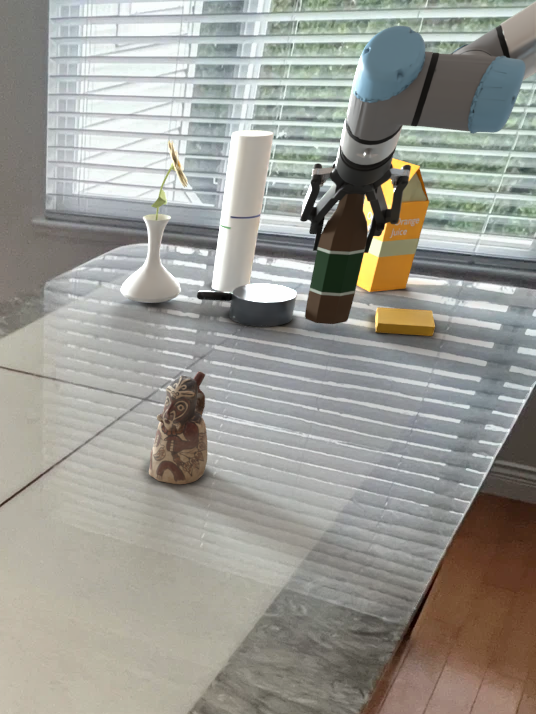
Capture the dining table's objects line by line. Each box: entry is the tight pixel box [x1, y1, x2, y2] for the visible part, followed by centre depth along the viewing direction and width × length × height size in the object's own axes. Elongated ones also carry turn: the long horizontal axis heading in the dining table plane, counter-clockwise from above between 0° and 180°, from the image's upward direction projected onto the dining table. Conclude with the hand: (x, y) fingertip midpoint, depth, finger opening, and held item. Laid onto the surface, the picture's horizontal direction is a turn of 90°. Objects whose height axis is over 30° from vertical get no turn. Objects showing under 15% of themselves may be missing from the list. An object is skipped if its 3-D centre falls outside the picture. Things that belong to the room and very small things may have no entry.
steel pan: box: [196, 283, 298, 328], centre depth 150 cm, size 17×11×4 cm, turn 72°
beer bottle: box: [304, 193, 368, 325], centre depth 136 cm, size 8×8×24 cm
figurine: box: [148, 370, 208, 485], centre depth 103 cm, size 7×7×12 cm
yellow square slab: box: [374, 306, 436, 337], centre depth 145 cm, size 9×9×2 cm
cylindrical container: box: [211, 129, 275, 293], centre depth 156 cm, size 7×7×25 cm
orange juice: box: [356, 157, 430, 293], centre depth 157 cm, size 8×9×20 cm
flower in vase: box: [119, 139, 189, 304], centre depth 153 cm, size 13×11×25 cm
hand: (341, 243), depth 139 cm, fingers closed on beer bottle, 7 cm apart
